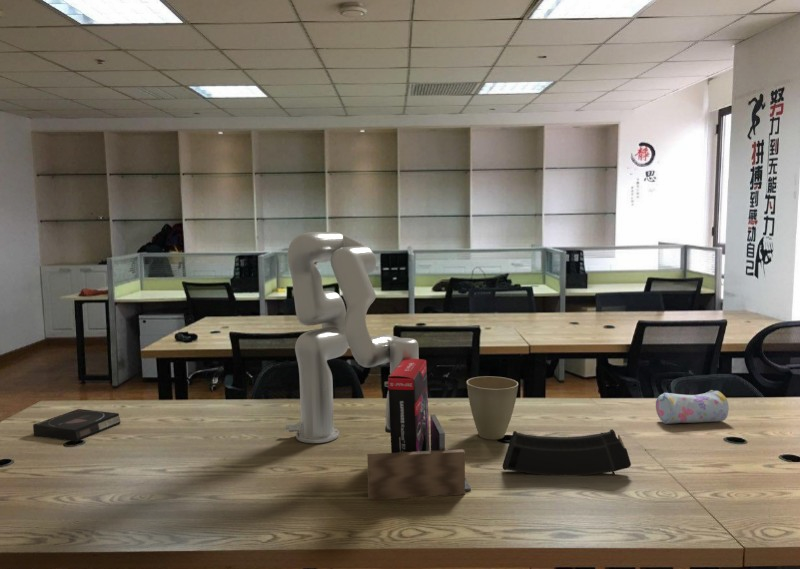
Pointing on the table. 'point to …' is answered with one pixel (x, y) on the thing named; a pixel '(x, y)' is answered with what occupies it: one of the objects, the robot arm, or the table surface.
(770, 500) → the table surface
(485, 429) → the plant pot
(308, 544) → the table surface
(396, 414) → the graphics card box
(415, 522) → the table surface
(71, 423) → the portable cd player
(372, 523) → the table surface
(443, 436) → the bookend
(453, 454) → the shelf lip
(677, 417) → the pencil case
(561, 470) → the black curved panel
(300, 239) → the robot arm
